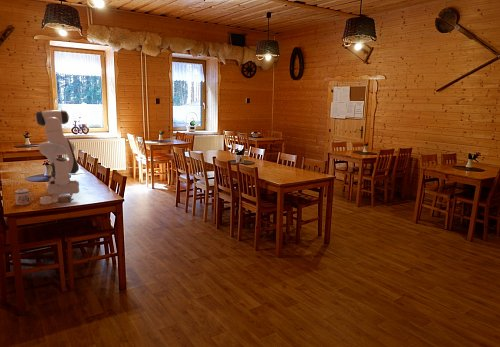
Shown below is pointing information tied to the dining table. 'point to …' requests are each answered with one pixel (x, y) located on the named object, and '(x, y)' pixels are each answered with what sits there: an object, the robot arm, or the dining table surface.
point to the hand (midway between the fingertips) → (64, 199)
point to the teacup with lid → (22, 196)
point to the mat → (67, 202)
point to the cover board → (63, 198)
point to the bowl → (45, 200)
